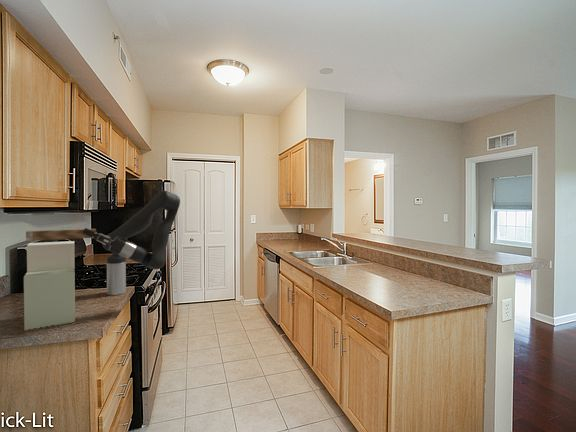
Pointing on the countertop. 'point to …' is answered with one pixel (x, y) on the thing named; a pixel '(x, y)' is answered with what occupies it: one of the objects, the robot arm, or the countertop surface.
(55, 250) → the stepped stand
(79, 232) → the walnut block
